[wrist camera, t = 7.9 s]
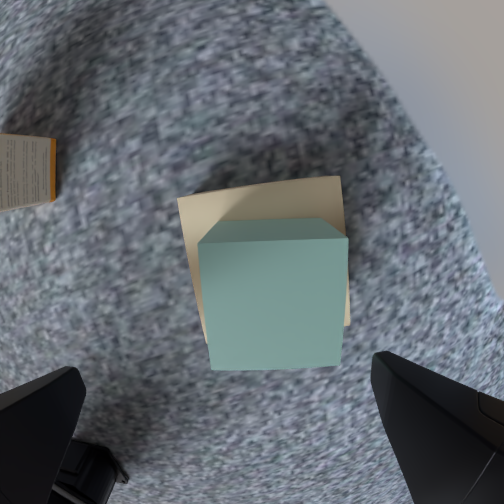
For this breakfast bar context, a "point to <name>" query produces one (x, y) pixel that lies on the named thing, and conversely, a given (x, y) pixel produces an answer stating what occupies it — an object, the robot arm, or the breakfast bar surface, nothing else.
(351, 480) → the breakfast bar surface
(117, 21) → the breakfast bar surface
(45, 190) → the supplement box
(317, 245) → the teal cube
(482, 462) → the robot arm
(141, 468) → the breakfast bar surface
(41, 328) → the breakfast bar surface
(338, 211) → the beech block
